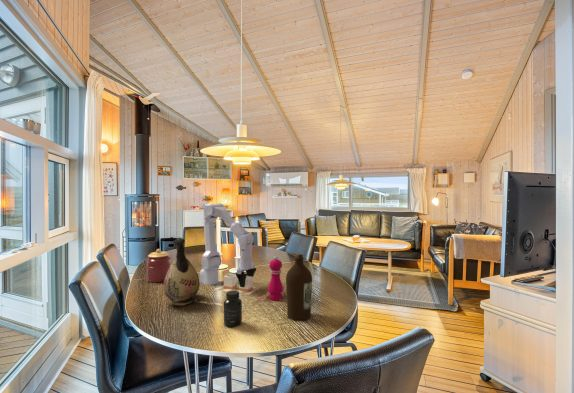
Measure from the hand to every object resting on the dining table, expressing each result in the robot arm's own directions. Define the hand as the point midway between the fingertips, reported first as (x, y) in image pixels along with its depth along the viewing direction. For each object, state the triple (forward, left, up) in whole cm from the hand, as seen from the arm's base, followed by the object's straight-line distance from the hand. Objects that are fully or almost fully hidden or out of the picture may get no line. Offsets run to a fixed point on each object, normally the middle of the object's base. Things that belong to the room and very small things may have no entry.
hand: (246, 284), depth 147 cm
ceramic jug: (-20, -23, -4) cm, 31 cm away
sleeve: (0, 0, -2) cm, 2 cm away
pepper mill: (+17, -2, -4) cm, 18 cm away
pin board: (-5, 0, -4) cm, 6 cm away
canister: (-58, +1, -4) cm, 58 cm away
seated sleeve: (-9, 0, -2) cm, 9 cm away
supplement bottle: (+13, -33, -4) cm, 36 cm away
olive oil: (+34, -17, -4) cm, 38 cm away
